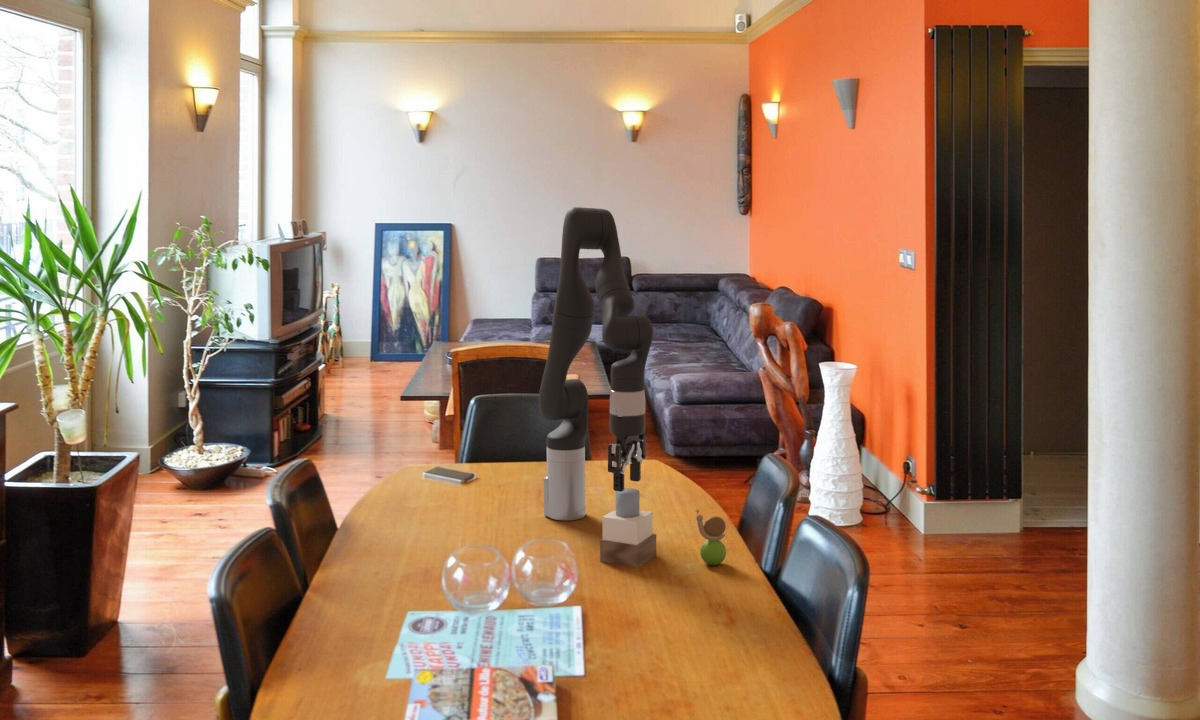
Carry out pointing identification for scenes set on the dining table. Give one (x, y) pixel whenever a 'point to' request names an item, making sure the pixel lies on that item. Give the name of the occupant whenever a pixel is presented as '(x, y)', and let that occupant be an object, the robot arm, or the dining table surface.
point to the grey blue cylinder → (627, 503)
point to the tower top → (627, 527)
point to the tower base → (628, 552)
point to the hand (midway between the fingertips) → (627, 485)
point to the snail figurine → (712, 539)
